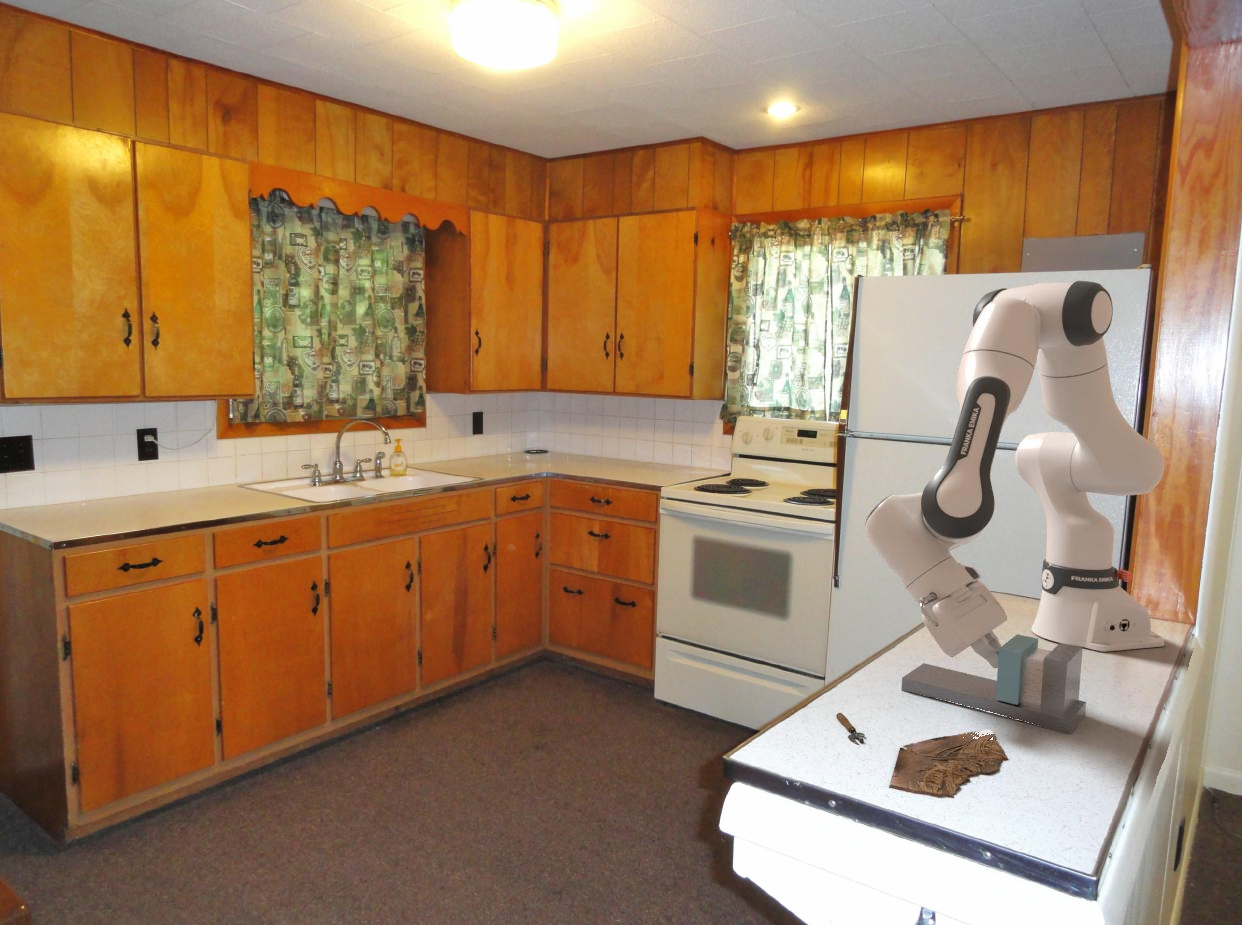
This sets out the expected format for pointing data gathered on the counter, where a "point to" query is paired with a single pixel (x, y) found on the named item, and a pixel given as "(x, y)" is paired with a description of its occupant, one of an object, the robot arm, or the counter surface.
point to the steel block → (1033, 677)
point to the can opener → (850, 729)
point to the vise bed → (978, 692)
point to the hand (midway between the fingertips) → (1002, 664)
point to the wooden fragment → (945, 763)
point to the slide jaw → (1012, 667)
